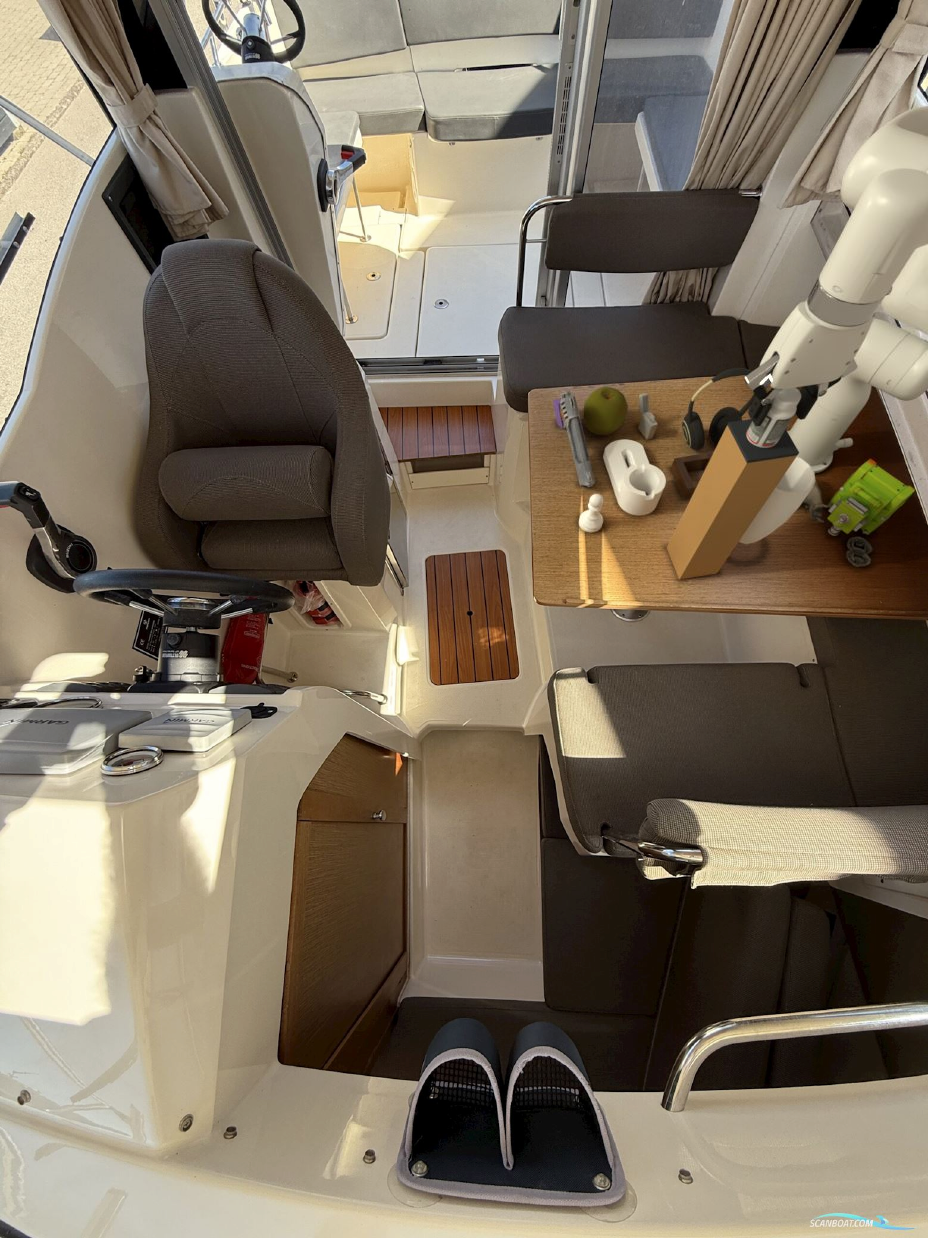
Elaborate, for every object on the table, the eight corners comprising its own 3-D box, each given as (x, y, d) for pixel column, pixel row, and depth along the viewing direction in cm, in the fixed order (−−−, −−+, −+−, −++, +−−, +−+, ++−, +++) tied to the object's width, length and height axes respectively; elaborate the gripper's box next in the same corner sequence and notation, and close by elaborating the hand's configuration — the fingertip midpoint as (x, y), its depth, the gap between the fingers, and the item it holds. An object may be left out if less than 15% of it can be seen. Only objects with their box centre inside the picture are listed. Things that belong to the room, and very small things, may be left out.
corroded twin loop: (841, 564, 116) (844, 561, 115) (845, 535, 120) (848, 532, 119) (867, 572, 115) (871, 569, 114) (871, 543, 119) (874, 540, 118)
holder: (707, 463, 130) (712, 452, 127) (721, 492, 126) (727, 482, 123) (669, 468, 129) (674, 457, 126) (682, 499, 125) (687, 488, 122)
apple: (587, 446, 133) (595, 409, 124) (574, 417, 138) (580, 379, 128) (628, 437, 134) (639, 400, 124) (613, 409, 138) (623, 371, 129)
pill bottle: (780, 431, 88) (807, 386, 80) (774, 452, 86) (801, 409, 78) (749, 422, 89) (773, 377, 81) (742, 443, 87) (766, 399, 80)
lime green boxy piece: (828, 484, 125) (785, 517, 121) (887, 446, 110) (840, 483, 106) (869, 530, 123) (827, 565, 120) (934, 498, 108) (888, 537, 105)
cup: (733, 570, 117) (781, 504, 97) (703, 533, 121) (744, 462, 102) (775, 552, 118) (831, 483, 99) (745, 516, 123) (792, 443, 104)
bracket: (662, 512, 124) (671, 492, 118) (623, 517, 124) (629, 498, 118) (637, 444, 133) (644, 422, 127) (600, 449, 133) (605, 427, 127)
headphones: (741, 452, 131) (781, 380, 113) (678, 460, 130) (708, 389, 113) (728, 425, 135) (764, 351, 117) (667, 432, 134) (694, 360, 117)
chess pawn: (591, 510, 125) (599, 483, 117) (606, 525, 123) (615, 498, 115) (573, 521, 124) (579, 494, 116) (588, 536, 122) (595, 510, 114)
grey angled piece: (653, 437, 134) (662, 411, 127) (646, 439, 134) (655, 413, 126) (637, 417, 137) (646, 390, 130) (631, 419, 137) (639, 392, 130)
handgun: (572, 495, 139) (584, 487, 124) (550, 402, 137) (559, 383, 122) (586, 491, 139) (599, 483, 124) (564, 399, 136) (575, 379, 121)
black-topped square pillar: (703, 541, 120) (777, 414, 89) (717, 573, 117) (799, 452, 86) (666, 547, 120) (728, 422, 89) (679, 579, 116) (748, 460, 85)
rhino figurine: (805, 531, 120) (820, 514, 115) (780, 481, 126) (793, 462, 121) (824, 529, 120) (839, 511, 115) (798, 479, 126) (812, 460, 121)
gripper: (897, 270, 70) (820, 390, 86) (761, 289, 69) (709, 406, 85) (929, 308, 66) (843, 426, 82) (787, 329, 66) (728, 443, 82)
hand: (776, 415), depth 84 cm, fingers open, 5 cm apart
